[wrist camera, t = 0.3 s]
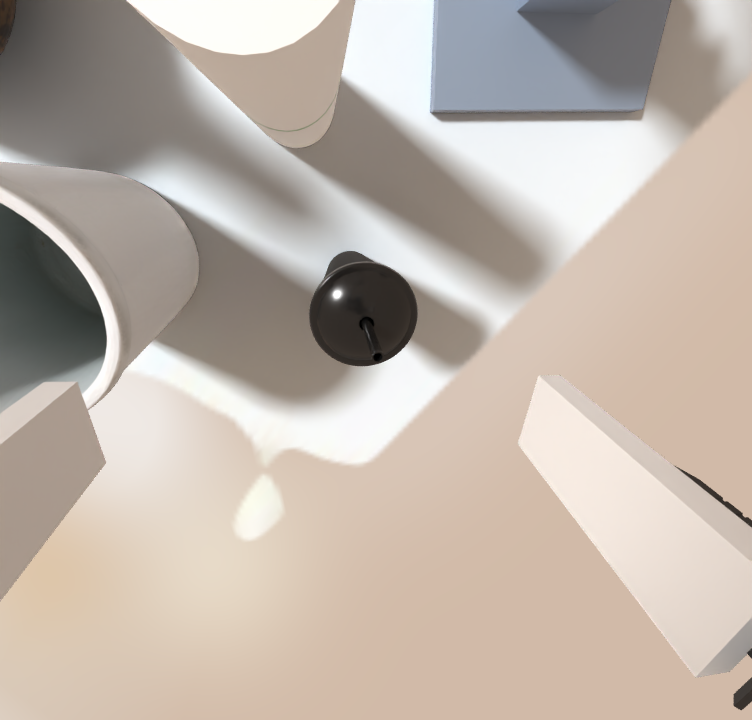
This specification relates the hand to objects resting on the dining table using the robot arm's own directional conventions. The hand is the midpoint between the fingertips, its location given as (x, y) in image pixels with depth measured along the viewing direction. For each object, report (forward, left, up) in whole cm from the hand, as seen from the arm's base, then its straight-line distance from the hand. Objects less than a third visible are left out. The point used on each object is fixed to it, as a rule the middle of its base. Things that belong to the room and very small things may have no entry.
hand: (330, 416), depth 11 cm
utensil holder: (-1, -18, -28) cm, 34 cm away
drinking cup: (+2, +3, -28) cm, 28 cm away
